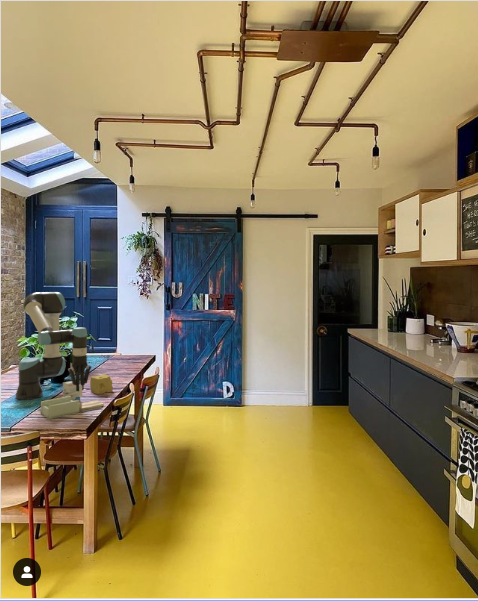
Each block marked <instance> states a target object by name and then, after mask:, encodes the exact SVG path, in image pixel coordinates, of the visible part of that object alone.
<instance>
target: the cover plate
mask: <svg viewBox="0 0 478 601" xmlns="http://www.w3.org/2000/svg"><path fill="white" fill-rule="evenodd" d="M104 406H105V403H103V402H101V401H100V400H96V399H95V400H91V401H87V402H82V403H81V402H79V412H80V411H82V410H86V409H91V408H96V407H104Z"/></svg>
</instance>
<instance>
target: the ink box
mask: <svg viewBox="0 0 478 601" xmlns="http://www.w3.org/2000/svg"><path fill="white" fill-rule="evenodd" d="M67 396H71V400H72V401H76V400H79V401H80V400H81V397H78V391H76V385H74V384H73V383H72V380H71V381H66V382H62V397H67Z"/></svg>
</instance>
